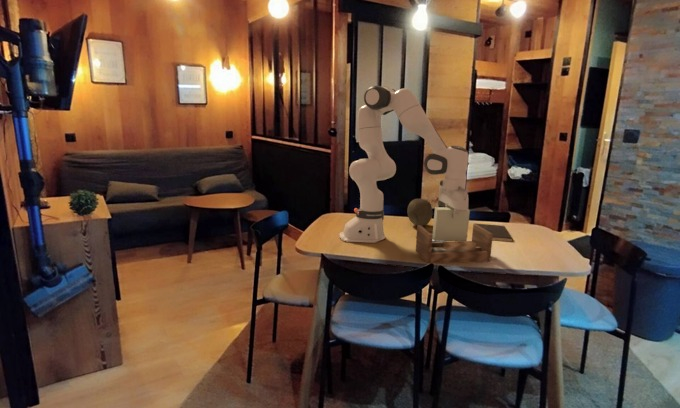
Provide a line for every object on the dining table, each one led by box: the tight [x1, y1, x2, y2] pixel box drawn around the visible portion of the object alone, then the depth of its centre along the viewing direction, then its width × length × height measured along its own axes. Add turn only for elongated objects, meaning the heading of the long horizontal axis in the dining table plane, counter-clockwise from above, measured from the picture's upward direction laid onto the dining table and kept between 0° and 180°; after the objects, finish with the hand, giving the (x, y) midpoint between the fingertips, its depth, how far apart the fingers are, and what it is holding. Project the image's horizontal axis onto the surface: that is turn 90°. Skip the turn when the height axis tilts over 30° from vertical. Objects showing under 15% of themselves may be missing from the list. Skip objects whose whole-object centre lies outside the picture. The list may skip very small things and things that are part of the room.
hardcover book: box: [473, 223, 514, 243], centre depth 210 cm, size 16×23×2 cm
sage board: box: [432, 206, 471, 242], centre depth 176 cm, size 14×4×14 cm, turn 92°
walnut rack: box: [415, 223, 493, 264], centre depth 174 cm, size 28×15×12 cm, turn 97°
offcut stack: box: [432, 240, 476, 252], centre depth 171 cm, size 20×4×8 cm, turn 97°
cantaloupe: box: [407, 198, 434, 227], centre depth 221 cm, size 14×14×15 cm
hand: (451, 216), depth 175 cm, fingers closed on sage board, 4 cm apart
